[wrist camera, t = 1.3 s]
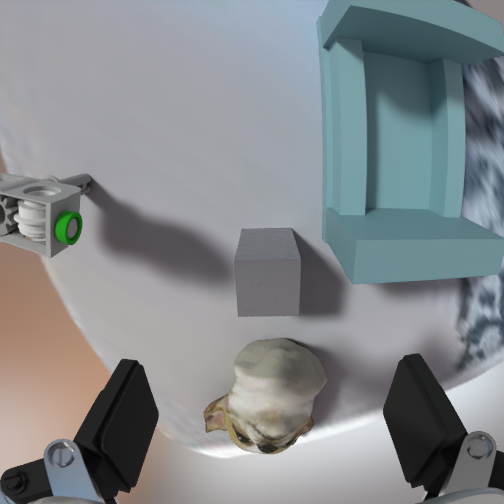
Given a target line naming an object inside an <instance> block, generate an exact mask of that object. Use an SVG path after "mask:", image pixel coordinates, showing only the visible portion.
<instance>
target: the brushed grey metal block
mask: <svg viewBox="0 0 504 504" xmlns="http://www.w3.org/2000/svg"><path fill="white" fill-rule="evenodd" d="M235 276H236V292H237V307H238V317H247V316H297V315H299V304H300V278H301V257H300V254H299V251H298V247H297V244H296V241H295V238H294V235H293V232H292V229H291V228H259V229H242V231H241V235H240V239H239V244H238V248H237V252H236V256H235Z"/></svg>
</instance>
